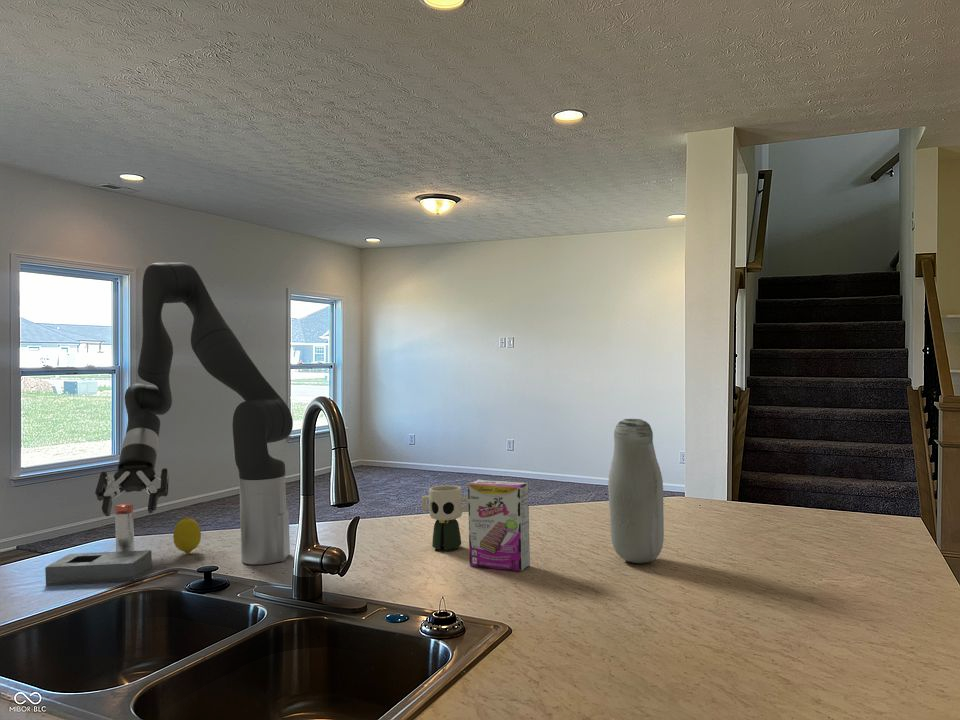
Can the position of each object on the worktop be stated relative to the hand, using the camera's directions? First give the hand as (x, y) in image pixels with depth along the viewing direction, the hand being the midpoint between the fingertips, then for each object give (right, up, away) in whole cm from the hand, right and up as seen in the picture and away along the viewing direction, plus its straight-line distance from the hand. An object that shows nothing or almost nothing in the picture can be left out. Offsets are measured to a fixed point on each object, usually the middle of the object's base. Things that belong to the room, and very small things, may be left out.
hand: (128, 512), depth 153 cm
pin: (+1, -10, -4) cm, 10 cm away
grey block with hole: (+1, -10, -13) cm, 16 cm away
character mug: (+68, -8, +1) cm, 68 cm away
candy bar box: (+79, -8, -13) cm, 80 cm away
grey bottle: (+106, -7, -13) cm, 107 cm away
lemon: (+12, -10, +2) cm, 15 cm away
